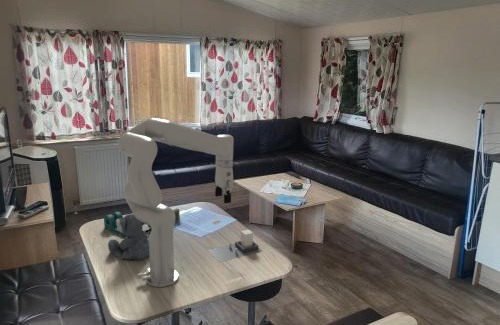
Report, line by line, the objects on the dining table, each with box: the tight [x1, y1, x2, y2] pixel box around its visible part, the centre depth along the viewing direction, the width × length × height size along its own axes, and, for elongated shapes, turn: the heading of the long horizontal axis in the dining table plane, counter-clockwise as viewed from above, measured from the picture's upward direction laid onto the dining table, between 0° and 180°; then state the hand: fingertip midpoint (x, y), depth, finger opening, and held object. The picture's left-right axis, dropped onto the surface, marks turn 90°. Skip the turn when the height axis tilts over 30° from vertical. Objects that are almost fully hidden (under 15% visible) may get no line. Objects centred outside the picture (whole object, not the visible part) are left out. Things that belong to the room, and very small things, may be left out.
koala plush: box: [107, 213, 149, 261], centre depth 173 cm, size 17×18×20 cm
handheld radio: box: [144, 208, 181, 234], centre depth 202 cm, size 7×3×25 cm
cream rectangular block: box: [240, 229, 254, 248], centre depth 181 cm, size 4×4×8 cm
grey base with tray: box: [207, 240, 263, 263], centre depth 179 cm, size 22×12×4 cm, turn 120°
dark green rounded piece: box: [103, 211, 126, 238], centre depth 197 cm, size 18×7×8 cm, turn 53°
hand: (222, 199), depth 176 cm, fingers open, 9 cm apart
